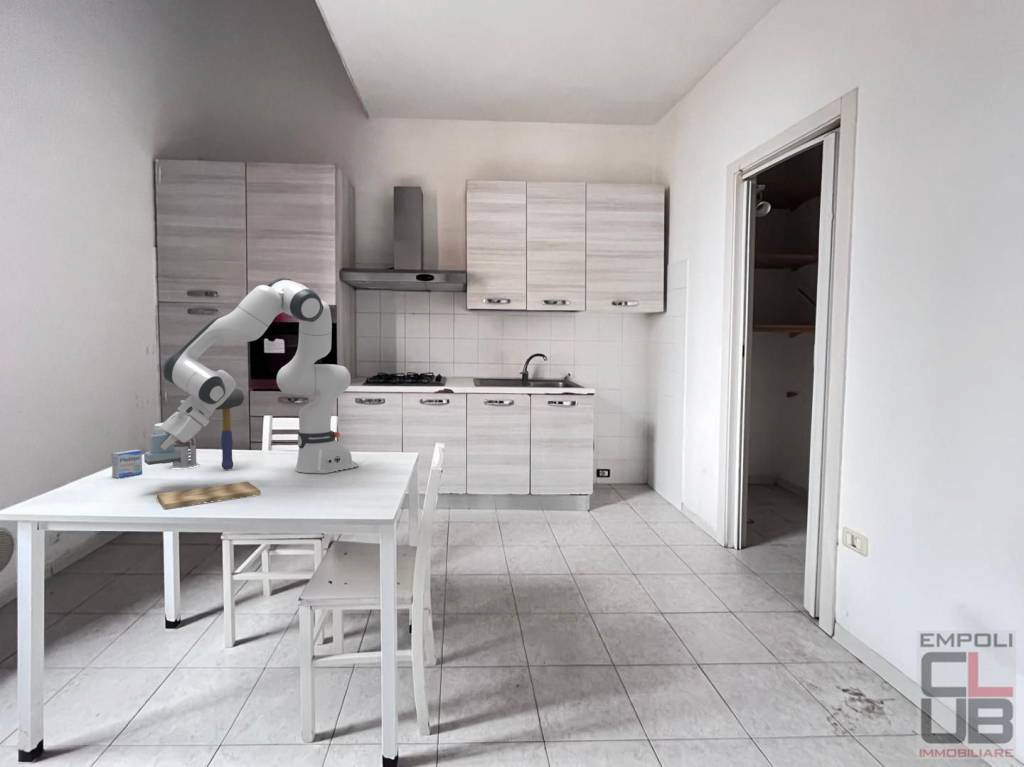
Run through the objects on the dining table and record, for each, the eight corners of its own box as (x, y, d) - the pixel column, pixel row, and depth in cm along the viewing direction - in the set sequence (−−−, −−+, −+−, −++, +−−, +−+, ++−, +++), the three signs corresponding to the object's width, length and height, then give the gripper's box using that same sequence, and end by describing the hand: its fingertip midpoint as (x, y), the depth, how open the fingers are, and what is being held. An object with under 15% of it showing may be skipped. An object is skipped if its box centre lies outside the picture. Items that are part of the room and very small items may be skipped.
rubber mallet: (225, 474, 213) (223, 390, 210) (206, 472, 214) (204, 389, 212) (247, 466, 225) (245, 387, 223) (229, 465, 226) (227, 386, 224)
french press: (191, 462, 231) (189, 398, 229) (207, 466, 224) (205, 400, 222) (164, 466, 223) (162, 400, 221) (180, 471, 216) (177, 402, 214)
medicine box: (118, 479, 204) (117, 453, 203) (112, 477, 206) (111, 452, 206) (142, 474, 211) (141, 450, 210) (136, 472, 213) (135, 448, 212)
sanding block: (176, 458, 192) (175, 432, 192) (181, 460, 189) (180, 434, 188) (144, 462, 186) (143, 435, 185) (148, 465, 183) (147, 437, 182)
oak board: (247, 485, 197) (247, 481, 196) (260, 494, 186) (260, 490, 186) (156, 498, 180) (156, 493, 180) (165, 509, 169) (165, 504, 169)
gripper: (176, 403, 198) (143, 435, 192) (195, 410, 183) (160, 446, 178) (191, 415, 202) (159, 447, 196) (211, 423, 187) (177, 458, 181)
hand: (160, 447), depth 187 cm, fingers closed on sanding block, 3 cm apart
